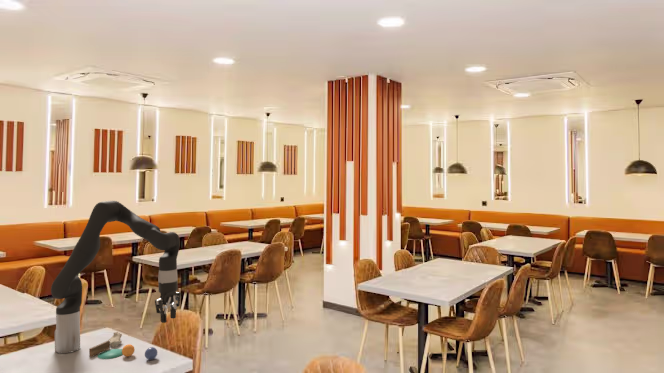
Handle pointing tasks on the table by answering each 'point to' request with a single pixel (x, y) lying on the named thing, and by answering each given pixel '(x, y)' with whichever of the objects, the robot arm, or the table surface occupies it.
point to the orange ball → (128, 350)
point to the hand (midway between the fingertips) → (168, 320)
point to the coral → (115, 339)
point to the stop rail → (99, 348)
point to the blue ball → (151, 353)
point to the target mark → (110, 354)
